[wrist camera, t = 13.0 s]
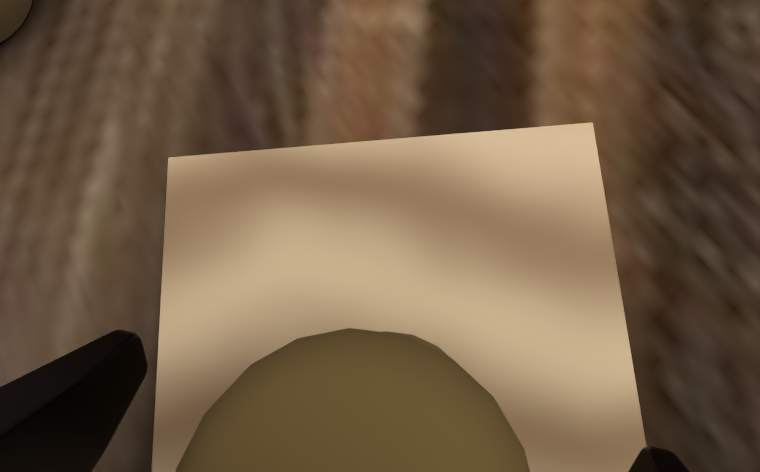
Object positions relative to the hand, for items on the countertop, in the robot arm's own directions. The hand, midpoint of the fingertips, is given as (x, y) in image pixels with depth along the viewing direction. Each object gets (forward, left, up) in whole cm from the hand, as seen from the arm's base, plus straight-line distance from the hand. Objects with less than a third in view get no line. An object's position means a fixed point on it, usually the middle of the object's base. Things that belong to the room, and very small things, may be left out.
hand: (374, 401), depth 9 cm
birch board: (-1, 0, -9) cm, 9 cm away
